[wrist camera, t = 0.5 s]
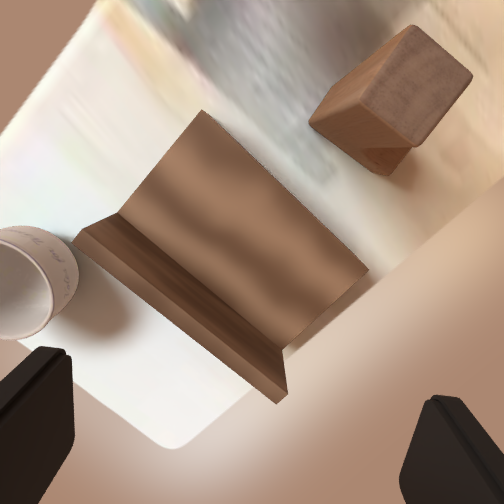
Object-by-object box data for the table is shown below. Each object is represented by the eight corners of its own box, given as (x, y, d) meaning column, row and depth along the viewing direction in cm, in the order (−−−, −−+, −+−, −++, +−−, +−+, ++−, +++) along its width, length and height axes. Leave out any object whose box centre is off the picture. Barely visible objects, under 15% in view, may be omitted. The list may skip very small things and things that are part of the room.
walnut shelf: (208, 114, 35) (186, 98, 24) (355, 255, 39) (396, 299, 28) (126, 214, 38) (71, 242, 27) (270, 334, 42) (276, 404, 31)
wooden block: (402, 137, 36) (541, 127, 18) (373, 174, 37) (479, 197, 19) (333, 83, 34) (414, 17, 17) (306, 123, 35) (355, 99, 18)
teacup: (109, 277, 40) (75, 307, 33) (41, 323, 42) (-6, 362, 34) (25, 176, 37) (-35, 183, 29) (-45, 230, 39) (-118, 250, 31)
